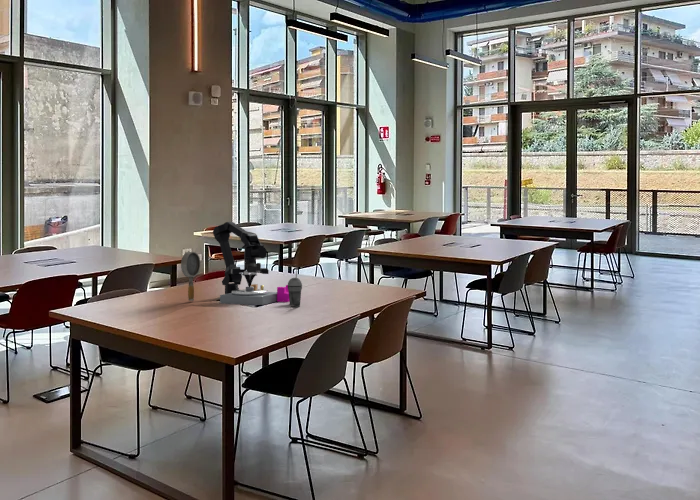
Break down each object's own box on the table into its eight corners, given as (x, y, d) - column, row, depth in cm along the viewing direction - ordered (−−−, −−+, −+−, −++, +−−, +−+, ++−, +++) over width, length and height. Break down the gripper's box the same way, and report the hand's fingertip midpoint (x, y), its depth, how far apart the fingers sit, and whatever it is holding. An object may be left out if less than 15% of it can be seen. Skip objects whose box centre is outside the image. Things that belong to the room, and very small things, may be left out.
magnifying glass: (195, 299, 337) (195, 251, 336) (200, 299, 336) (200, 251, 335) (181, 301, 324) (180, 252, 324) (186, 301, 323) (186, 252, 323)
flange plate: (238, 291, 336) (238, 284, 336) (272, 291, 334) (272, 284, 334) (226, 294, 317) (226, 287, 317) (262, 295, 315) (262, 287, 315)
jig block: (220, 303, 318) (220, 295, 318) (241, 298, 340) (241, 291, 340) (262, 304, 311) (262, 296, 311) (281, 300, 333) (281, 292, 333)
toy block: (288, 302, 325) (288, 287, 325) (277, 302, 327) (277, 287, 326) (298, 299, 340) (298, 285, 339) (287, 298, 341) (287, 284, 341)
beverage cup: (287, 308, 318) (287, 268, 317) (302, 308, 318) (302, 268, 317) (287, 310, 310) (286, 269, 310) (302, 310, 311) (302, 269, 310)
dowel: (259, 292, 333) (259, 285, 333) (261, 292, 335) (261, 285, 335) (262, 292, 333) (262, 285, 333) (264, 292, 334) (264, 285, 334)
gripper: (234, 258, 322) (233, 289, 322) (271, 258, 328) (270, 288, 328) (230, 257, 333) (230, 287, 333) (266, 257, 339) (266, 287, 339)
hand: (249, 287), depth 333 cm, fingers closed
